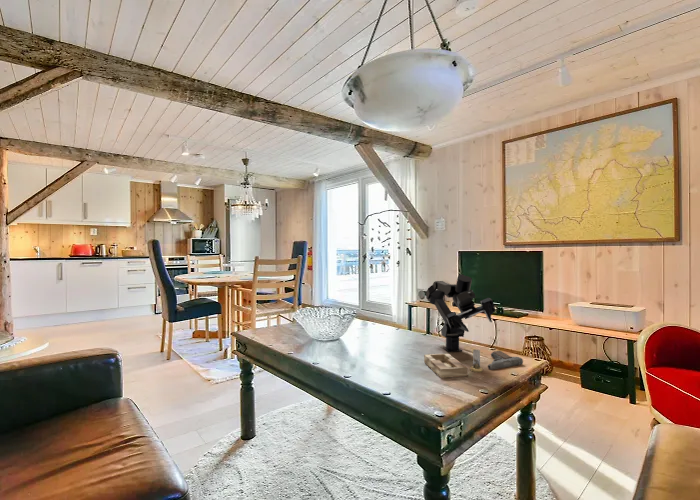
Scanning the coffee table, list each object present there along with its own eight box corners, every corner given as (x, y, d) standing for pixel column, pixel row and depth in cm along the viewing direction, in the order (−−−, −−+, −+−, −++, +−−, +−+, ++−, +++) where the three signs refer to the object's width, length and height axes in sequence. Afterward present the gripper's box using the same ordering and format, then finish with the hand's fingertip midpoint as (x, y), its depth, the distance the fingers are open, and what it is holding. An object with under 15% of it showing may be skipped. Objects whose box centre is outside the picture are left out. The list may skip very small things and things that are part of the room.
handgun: (469, 355, 145) (491, 364, 134) (500, 349, 151) (523, 358, 139) (470, 362, 145) (491, 372, 134) (501, 357, 151) (524, 366, 139)
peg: (468, 368, 136) (468, 349, 135) (479, 368, 136) (479, 348, 136) (473, 372, 131) (473, 352, 131) (485, 372, 132) (485, 351, 132)
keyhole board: (424, 362, 143) (424, 354, 143) (448, 360, 145) (448, 353, 145) (440, 377, 127) (440, 369, 126) (467, 376, 128) (467, 367, 128)
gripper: (436, 297, 145) (450, 320, 131) (479, 279, 144) (498, 300, 130) (444, 317, 150) (458, 341, 136) (486, 299, 149) (505, 322, 135)
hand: (479, 326), depth 134 cm, fingers open, 9 cm apart
